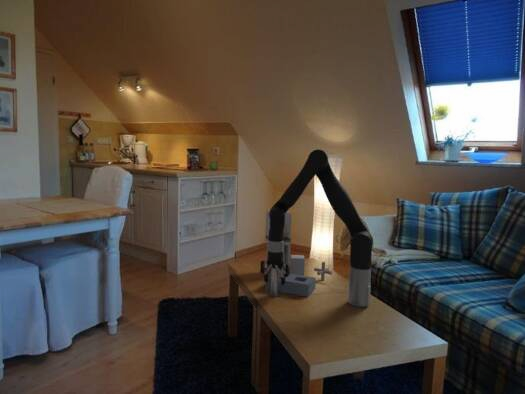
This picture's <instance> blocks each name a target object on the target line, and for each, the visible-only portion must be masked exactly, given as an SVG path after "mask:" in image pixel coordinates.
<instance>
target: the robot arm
mask: <svg viewBox="0 0 525 394" xmlns="http://www.w3.org/2000/svg"><path fill="white" fill-rule="evenodd" d="M315 176H316V177H317V179H318V180H319V182H320V185H321V187H322V189H323V192H324V195H325V196H326V198H327V201H328V202H329V204H330V206H331V208H332V210H333V212H334V213H335V214H336V216H337V217H338V218H339V219H340V220H341V221H342V223H344V225H345V227H346V228H347V231H348V232H349V235H350V236H351V240H350V249H349V251H350V252H349V253H350V254H349V256H350V257H349V262H350V265H349V283H348V303H347V304H349V305H351V306H353V307H356V308H368V307H369V305H370V303H371V301H370V300H371V290H372V289H371V287H372V286H371V285H372V283H371V280H372V278H371V274H372V251H373V245H374V238H373V235H372V234H371V233H370V231H369V230H368V228H367V227H366V225H365V224H364V223H363V221H362V220H361V218H360V215H359V213H358V210H357V209H356V206H355V205H354V202H353V200H352V199H351V196H350V195H349V192H347V190H346V188H345V186H344V185H343V184H342V183H341V182H340V181H339V179H338V178H337V176H336V175H335V173H334V171H333V169H332V167H331V164H330V162H329V157H328V154H327V153H326V151H325V150H323V149H319V148H318V149H315V150H312V151H311V152H310V153H309V154H308V156H307V159H306V161H305V163H304V165H303V166H302V168H301V170H300V171H299V173H298V174H297V175H296V177H295V178H294V179H293V181H292V182H291V183H290V185H288V186H287V188H286V189H285V191H284V192H283V194H282V195H281V197H280V198H279V199H278V200H277V201H276V202H275V203H274V204H273V206H272V207H271V208H270V211H269V217H270V229H269V240H268V247H267V246H266V250H267V249H268V254H267V253H266V260H265V259H262V260H261V261H260V274H263V276H264V277H263V281H264V283H265V284H266V283H267V282H268V276H269V275H268V272H269V271H270V270H271V267H272V268H276V269H277V270H278V272H279V274H280V275H281V276H282V278H281V285H284V284H285V277H288V276H289V275H290V264H289V263H288V264H285V263H284V262H283V255H284V241H283V240H284V224H285V213H286V212H289V210H290V209H291V208H292V207H293V206H295V204H296V203H297V201H298V200H299V199H300V197H301V196H302V195H303V194H304V192H305V190H306V188H307V187H308V186H309V184H310V183H311V181H312V179H314V177H315ZM267 265H268V268H267V267H266V266H267ZM283 266H284V267H285V268H286V271H285V272H284V270H283V268H282V267H283ZM265 268H267V269H266V271H265Z"/></svg>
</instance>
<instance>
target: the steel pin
mask: <svg viewBox="0 0 525 394" xmlns="http://www.w3.org/2000/svg"><path fill="white" fill-rule="evenodd" d="M279 293H280V292H279V272H278V270H277V269H276V268H272V267H271V279H270V290H269V296H270V298H279Z"/></svg>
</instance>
